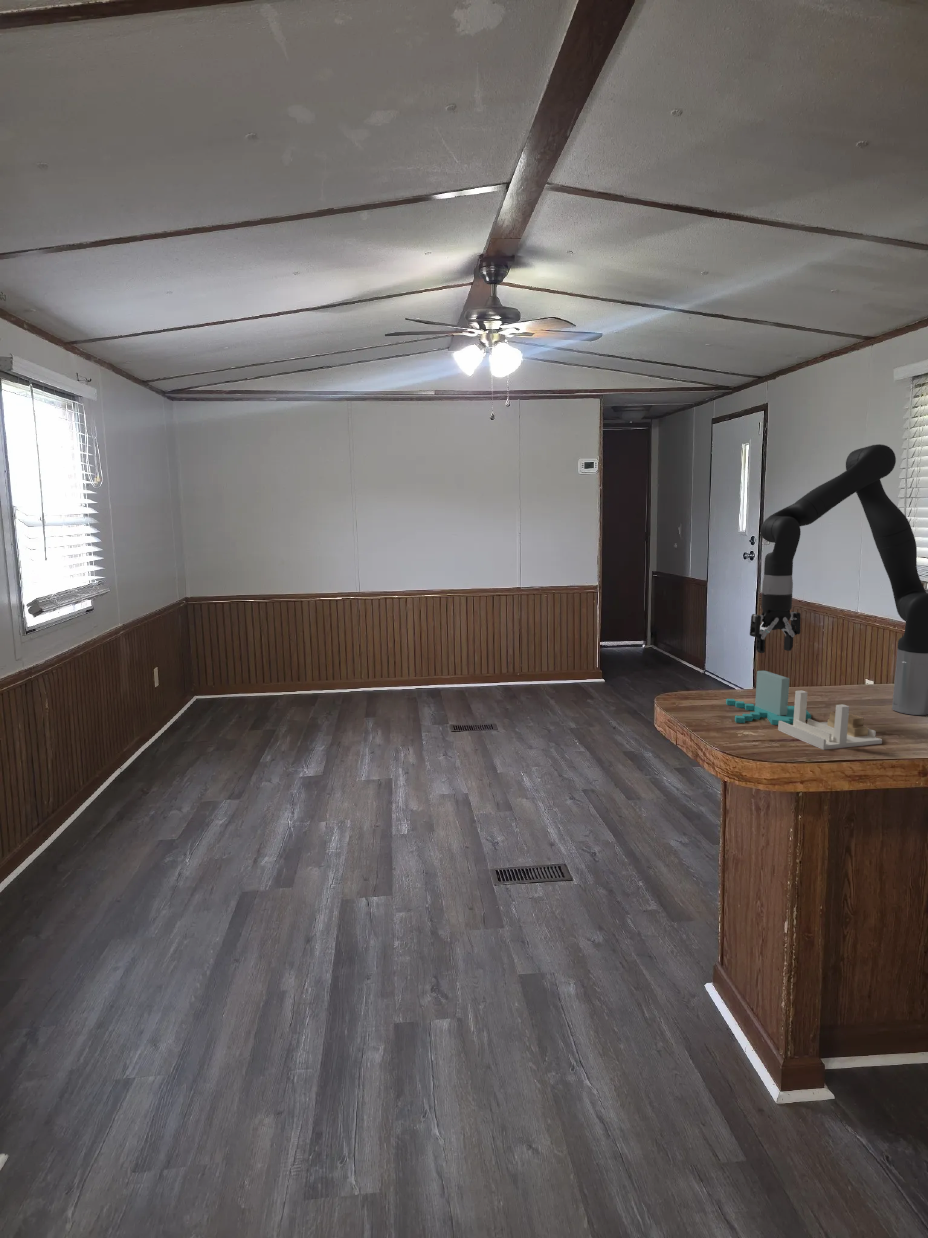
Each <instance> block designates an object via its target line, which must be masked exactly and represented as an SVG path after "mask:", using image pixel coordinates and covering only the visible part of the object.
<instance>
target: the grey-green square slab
mask: <svg viewBox="0 0 928 1238" xmlns="http://www.w3.org/2000/svg"><path fill="white" fill-rule="evenodd" d="M755 685H756V686H755V687H756V688H755V700H754V701H755V703H754V706H756V707H759V708H761V709H764V710H766V711H769V712H771V713H774V714H776V715H779V716H782V715H787V709H788V706H789V705H788V704H789V692H790V691H789V690H790V677H786V676H783V675H780V674H777V673H773V672H771V671H767V670H757V671H756V683H755Z"/></svg>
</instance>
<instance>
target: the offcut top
mask: <svg viewBox="0 0 928 1238" xmlns="http://www.w3.org/2000/svg"><path fill="white" fill-rule="evenodd" d="M835 712H836V710H835V711H830V712H829V718H828V719H829V720H832V721H835ZM864 723H865V717H863V716H860V715H859V716H858V715H856V714H852V713H850V712H849V716H848V726H850V727H858V726H864Z"/></svg>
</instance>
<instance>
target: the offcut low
mask: <svg viewBox="0 0 928 1238" xmlns="http://www.w3.org/2000/svg"><path fill="white" fill-rule="evenodd" d="M829 719H830V718H828V719H827V722H828V724H827V726H830V727H832V728H834V724H835V721H832V720H829ZM868 728H869V727H867V726H864V725H863V726H858V727H850V726H848V728H847V734H848V735H850V736H853V737H859V736H868Z"/></svg>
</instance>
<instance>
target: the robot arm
mask: <svg viewBox="0 0 928 1238" xmlns="http://www.w3.org/2000/svg"><path fill="white" fill-rule="evenodd" d="M847 455H848V456H847V458H846V460H845V471H843V472H842V473H841V474H839V475H837V476H835V477H833V478H831V479H829V480H827V481H826V482H824V483H822V484H820V485H818V486H816V487H815V488H814V489H812V490H811V491H809V492H807V493H806V494H805V495H803V496H802V497H800V498H799V499H797V500H796V501H795V502H794V503H793V504H790V505H788V506H786V507H784V508H782V509H780V510H778V511H777V512H774V513H773V514H771V515H770V516H768V517H767V518H766V519H765V520H764V521H763V522H762V524H761V525H760V526H761V527H760V536H761V538H762V539H763V540H764V541H767V542H769V543H773V544H774V546H773V550H772V552H768V553H767V554H766V555H765V558H764V567H763V579H762V587H761V589H762V590H761V609H762V613H761V614H756V613H753V614H751V616H750V617H751V618H750V627H749V628H750V629H749V636H750V637H753V638H755V639H756V641H755V649H756V651H757V652H758V653H760V654H764V653H765V652H766V639H765V638H766V637H767V635H768V634H769V633H771V632H772V631H776V630H781V631H782V632H783V634H784V635H785V636H784V641H783V642H784V643H783V650H785V651H788V652H790V651H792V649H793V646H794V637H795V636H796V635H800V634H801V620H802V619H801V613H800V612H797V611H794V610H793V611H791V609H792V608H793V607H792V606H793V590H794V589H793V588H794V586H793V585H794V583H793V582H794V580H793V569H794V557H795V556H796V552H797V548H798V546H799V544H800V538H801V527H803V526H808V525H809V526H810V525H811V524H812V523H814V522H816V521H818V519H820V518H822V517H823V515H825V514H827V513H828V512H829V511H831V509H833V508H835V507H836V506H837V505H839V504H840V503H842V502H843V501H844V500H846V499H848V498H849V497H850V496H852V495H853V494H855V493H856V495H857V497H858V499H859V502H860V504H861V507H862V509H863V513H864V515H865V517H866V520H867V522H868V525H869V528H870V531H871V535H872V538H873V541H874V543H875V546H876V549H877V551H878V553H879V556H880V559H881V562H882V564H883V568H884V570H885V572H886V575H887V577H888V578H889V582H890V586H891V589H892V594H893V599H894V604H895V607H896V612H897V615H898V616H899V617H900V618H901V619H902V621H904V622H905V626H904V632H903V635H902V636H901V637H900V638H899V639H898V641H897V651H896V662H895V671H894V672H895V673H894V682H893V694H892V705H891V709H892V710H893V711H895V712H897V713H901V714H906V715H914V716H926V715H928V593H927V591H926V589H925V587H924V585H923V583H922V580H921V578H920V576H919V573H918V567H917V565H918V562H917V561H918V560H917V559H918V558H917V557H918V556H917V553H918V552H917V543H916V542H917V541H916V537H915V535H914V532H913V529H912V526H911V523H910V521H909V520H908V517H907V516H906V515H905V514H904V513H903V512H902V510H901V509H900V508H899V507H898V506H897V505H896V504H895V503H894V502H893V501H892V499H890V498H889V496H888V495H887V493H886V490H885V489H884V486H883V484H882V480H881V479H883V478H885V477H887V476H888V475H889V474H891V472H893V470H894V468H895V466H896V462H897V458H896V454H895V451H894V450H893V449H892V447H890V446H888V445H885V444H872V445H868V446H865V447H860V448H858V449H855V450H853V451H851V452H850V453H849V454H847ZM790 611H791V612H790ZM789 621H790V623H789Z"/></svg>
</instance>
